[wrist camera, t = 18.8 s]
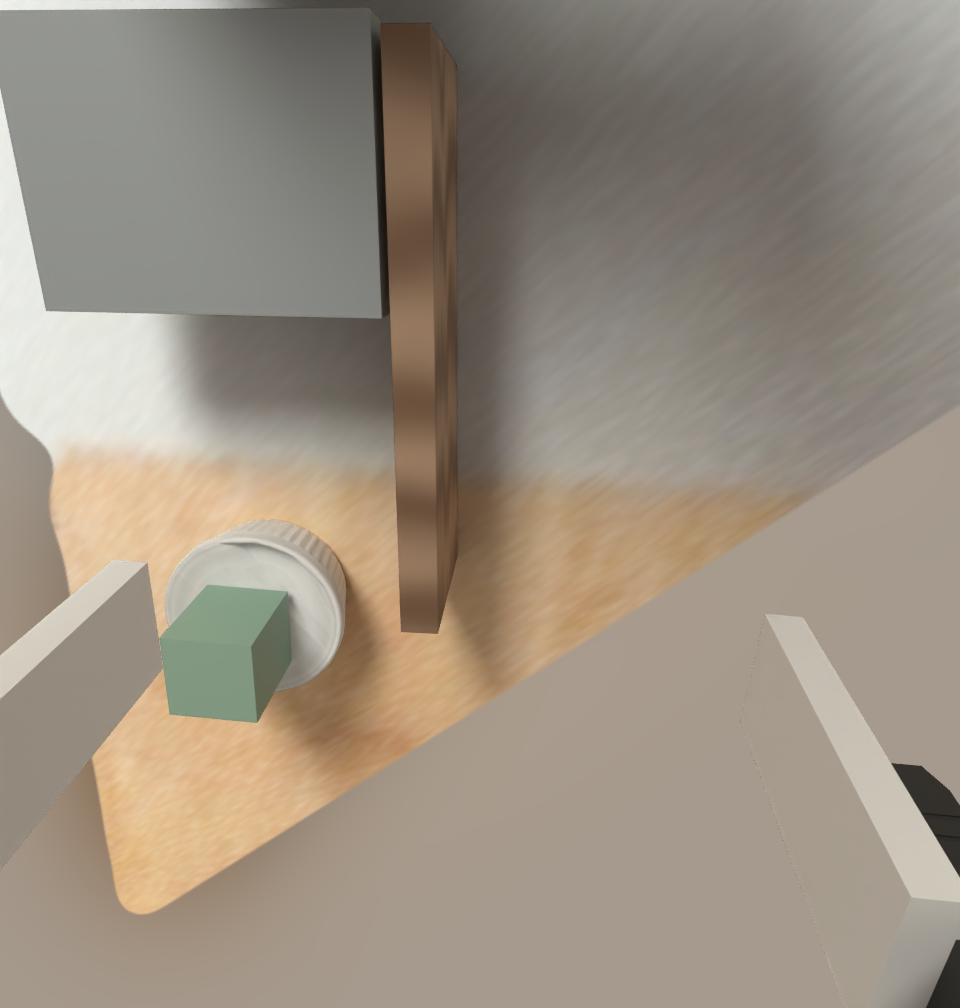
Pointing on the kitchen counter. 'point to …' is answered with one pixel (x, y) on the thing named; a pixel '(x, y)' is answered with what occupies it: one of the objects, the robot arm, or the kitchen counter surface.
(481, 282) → the kitchen counter surface
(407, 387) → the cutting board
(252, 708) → the block
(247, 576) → the ramekin
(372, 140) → the lid
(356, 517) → the kitchen counter surface
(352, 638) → the kitchen counter surface
